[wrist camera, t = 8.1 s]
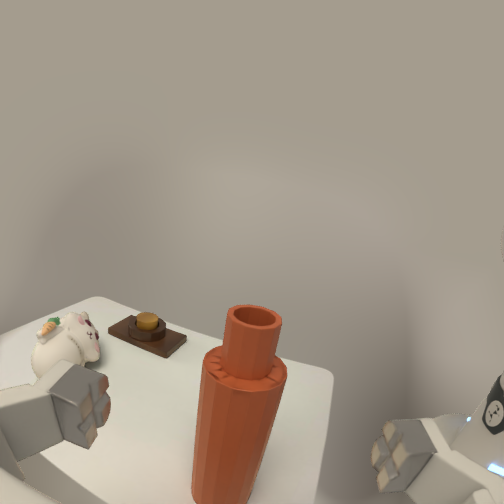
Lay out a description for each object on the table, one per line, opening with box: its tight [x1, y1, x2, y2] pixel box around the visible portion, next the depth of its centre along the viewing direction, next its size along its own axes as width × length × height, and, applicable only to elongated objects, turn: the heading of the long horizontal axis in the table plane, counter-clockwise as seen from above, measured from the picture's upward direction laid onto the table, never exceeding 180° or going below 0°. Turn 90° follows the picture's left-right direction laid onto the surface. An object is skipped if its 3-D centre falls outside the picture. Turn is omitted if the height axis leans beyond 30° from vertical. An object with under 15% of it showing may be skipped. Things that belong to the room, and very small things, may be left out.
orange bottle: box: [191, 305, 287, 504], centre depth 23 cm, size 6×6×22 cm
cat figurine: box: [31, 312, 100, 379], centre depth 39 cm, size 10×8×15 cm
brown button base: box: [108, 315, 187, 358], centre depth 54 cm, size 13×8×3 cm, turn 73°
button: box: [136, 312, 158, 330], centre depth 54 cm, size 4×4×2 cm
